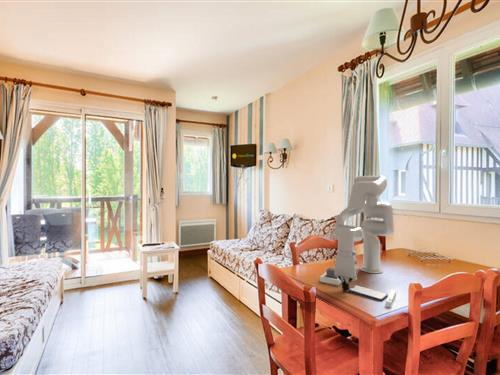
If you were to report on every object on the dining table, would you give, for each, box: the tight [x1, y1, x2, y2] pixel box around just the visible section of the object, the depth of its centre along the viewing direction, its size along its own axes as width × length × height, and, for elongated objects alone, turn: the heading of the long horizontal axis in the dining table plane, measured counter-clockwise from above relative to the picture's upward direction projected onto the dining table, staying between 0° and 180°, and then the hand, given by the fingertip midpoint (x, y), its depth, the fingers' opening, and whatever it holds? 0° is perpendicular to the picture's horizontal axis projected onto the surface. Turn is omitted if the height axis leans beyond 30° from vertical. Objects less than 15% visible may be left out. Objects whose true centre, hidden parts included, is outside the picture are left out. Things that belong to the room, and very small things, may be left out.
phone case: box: [348, 284, 389, 302], centre depth 132 cm, size 9×2×16 cm
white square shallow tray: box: [319, 271, 342, 287], centre depth 149 cm, size 10×10×3 cm
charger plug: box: [326, 266, 337, 279], centre depth 150 cm, size 4×4×7 cm
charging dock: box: [385, 289, 397, 308], centre depth 125 cm, size 16×2×3 cm, turn 145°
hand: (345, 290), depth 135 cm, fingers closed
